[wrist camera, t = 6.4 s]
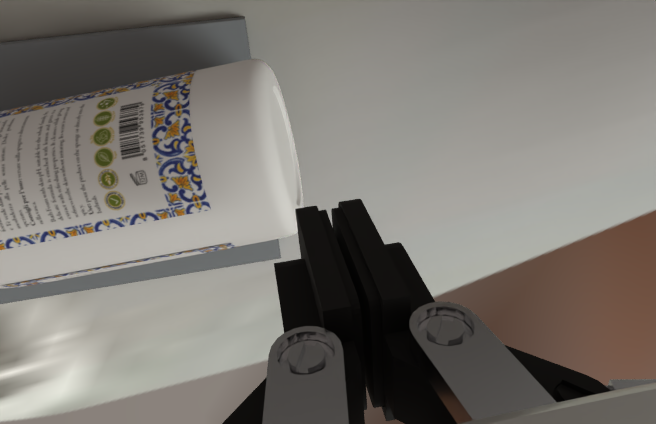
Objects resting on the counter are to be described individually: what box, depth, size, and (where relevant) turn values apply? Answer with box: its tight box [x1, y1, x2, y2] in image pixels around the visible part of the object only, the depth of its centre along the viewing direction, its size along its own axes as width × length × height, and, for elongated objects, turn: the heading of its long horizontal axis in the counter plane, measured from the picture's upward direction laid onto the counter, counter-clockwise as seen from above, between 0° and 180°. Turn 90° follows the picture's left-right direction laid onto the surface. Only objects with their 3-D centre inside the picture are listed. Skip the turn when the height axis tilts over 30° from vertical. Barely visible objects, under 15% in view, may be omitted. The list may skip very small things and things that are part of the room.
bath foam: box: [0, 59, 304, 289], centre depth 20 cm, size 7×7×20 cm
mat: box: [0, 17, 281, 304], centre depth 24 cm, size 17×13×1 cm
